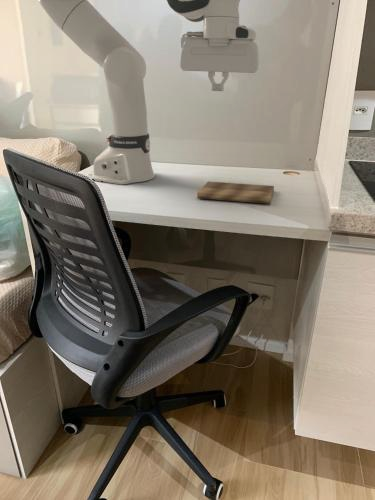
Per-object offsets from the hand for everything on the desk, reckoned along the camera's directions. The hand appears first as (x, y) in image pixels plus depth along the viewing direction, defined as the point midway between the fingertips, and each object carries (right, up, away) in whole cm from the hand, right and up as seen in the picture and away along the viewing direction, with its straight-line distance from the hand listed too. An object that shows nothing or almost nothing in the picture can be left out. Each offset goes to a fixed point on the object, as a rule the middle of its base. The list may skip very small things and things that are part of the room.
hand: (217, 91), depth 105 cm
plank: (+5, -28, +6) cm, 29 cm away
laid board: (+7, -25, +12) cm, 29 cm away
